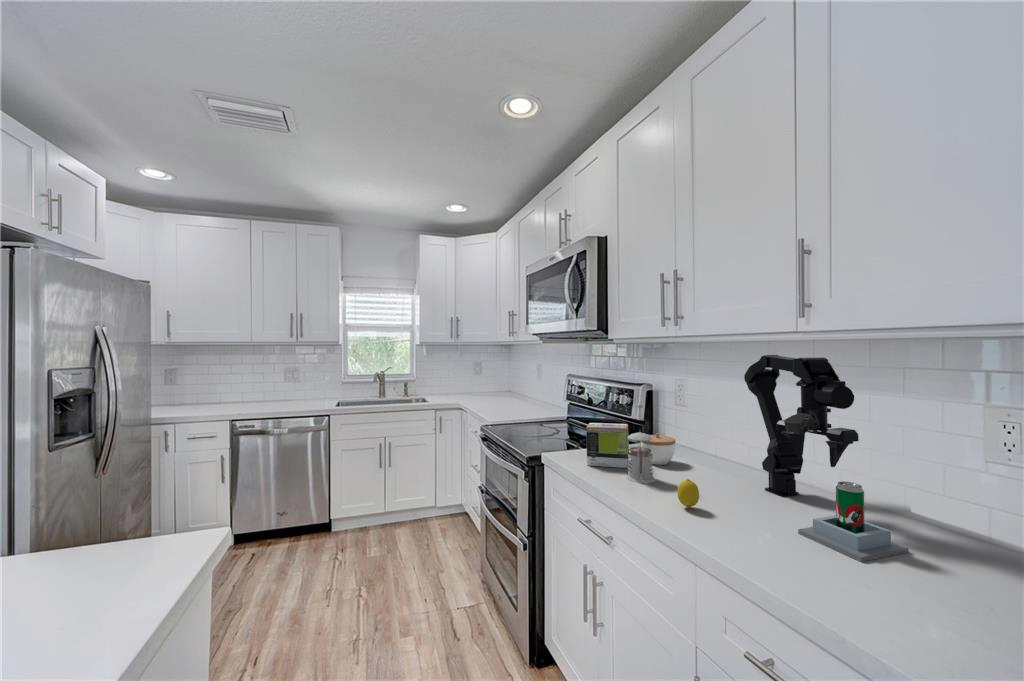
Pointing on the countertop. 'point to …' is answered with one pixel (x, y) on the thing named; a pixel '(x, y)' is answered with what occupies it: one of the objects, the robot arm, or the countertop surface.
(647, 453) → the french press
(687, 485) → the lemon
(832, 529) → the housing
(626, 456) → the tea box
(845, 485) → the soda can
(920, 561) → the countertop surface
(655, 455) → the lidded bowl
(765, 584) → the countertop surface
